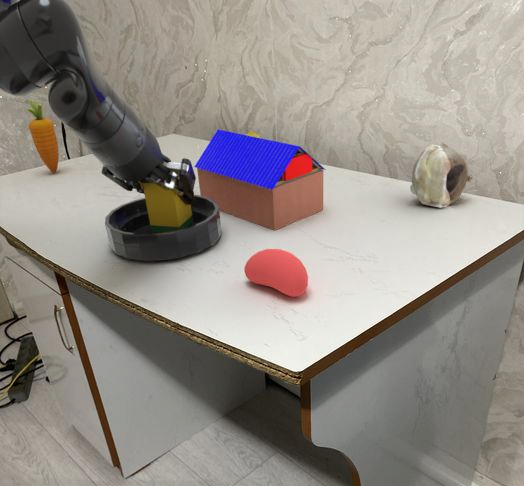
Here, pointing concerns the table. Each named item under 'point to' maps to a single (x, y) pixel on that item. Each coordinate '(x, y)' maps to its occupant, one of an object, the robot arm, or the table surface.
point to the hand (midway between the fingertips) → (173, 198)
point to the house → (260, 179)
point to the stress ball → (278, 271)
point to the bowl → (161, 244)
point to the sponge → (166, 209)
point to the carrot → (44, 137)
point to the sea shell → (439, 176)
